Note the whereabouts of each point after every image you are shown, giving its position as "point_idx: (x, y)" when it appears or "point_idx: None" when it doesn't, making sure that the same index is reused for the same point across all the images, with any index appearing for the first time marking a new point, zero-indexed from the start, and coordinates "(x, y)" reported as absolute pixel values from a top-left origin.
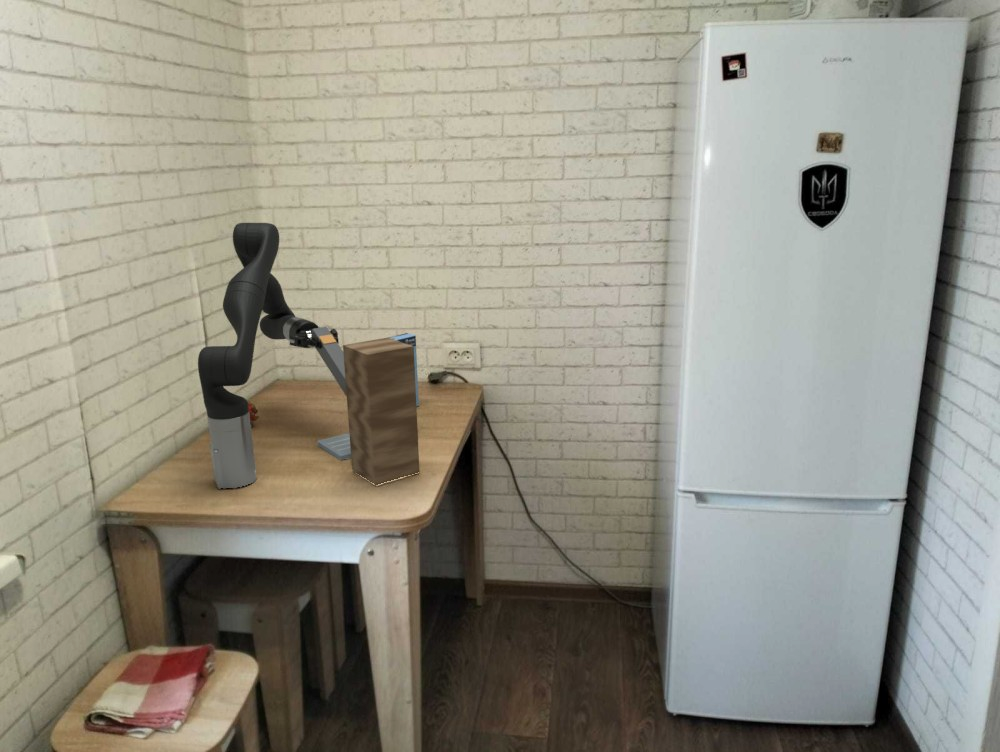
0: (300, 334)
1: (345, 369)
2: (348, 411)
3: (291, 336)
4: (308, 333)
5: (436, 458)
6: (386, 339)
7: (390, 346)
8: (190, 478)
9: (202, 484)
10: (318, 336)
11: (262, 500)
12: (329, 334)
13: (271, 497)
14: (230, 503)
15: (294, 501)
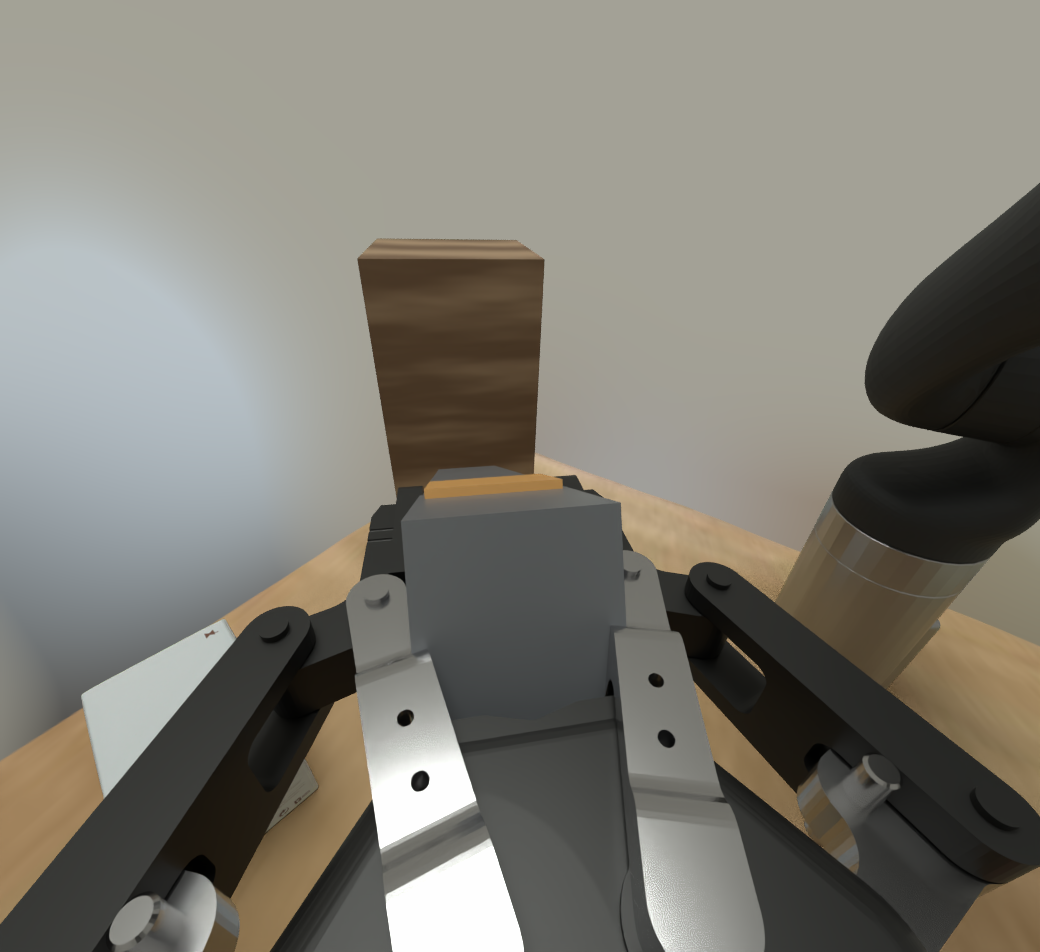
0: (848, 919)
1: (539, 344)
2: (533, 463)
3: (971, 774)
4: (669, 685)
5: (338, 564)
6: (380, 255)
7: (426, 243)
8: (982, 753)
9: (907, 689)
10: (564, 489)
11: (718, 556)
12: (440, 498)
13: (702, 559)
14: (781, 570)
15: (657, 531)
